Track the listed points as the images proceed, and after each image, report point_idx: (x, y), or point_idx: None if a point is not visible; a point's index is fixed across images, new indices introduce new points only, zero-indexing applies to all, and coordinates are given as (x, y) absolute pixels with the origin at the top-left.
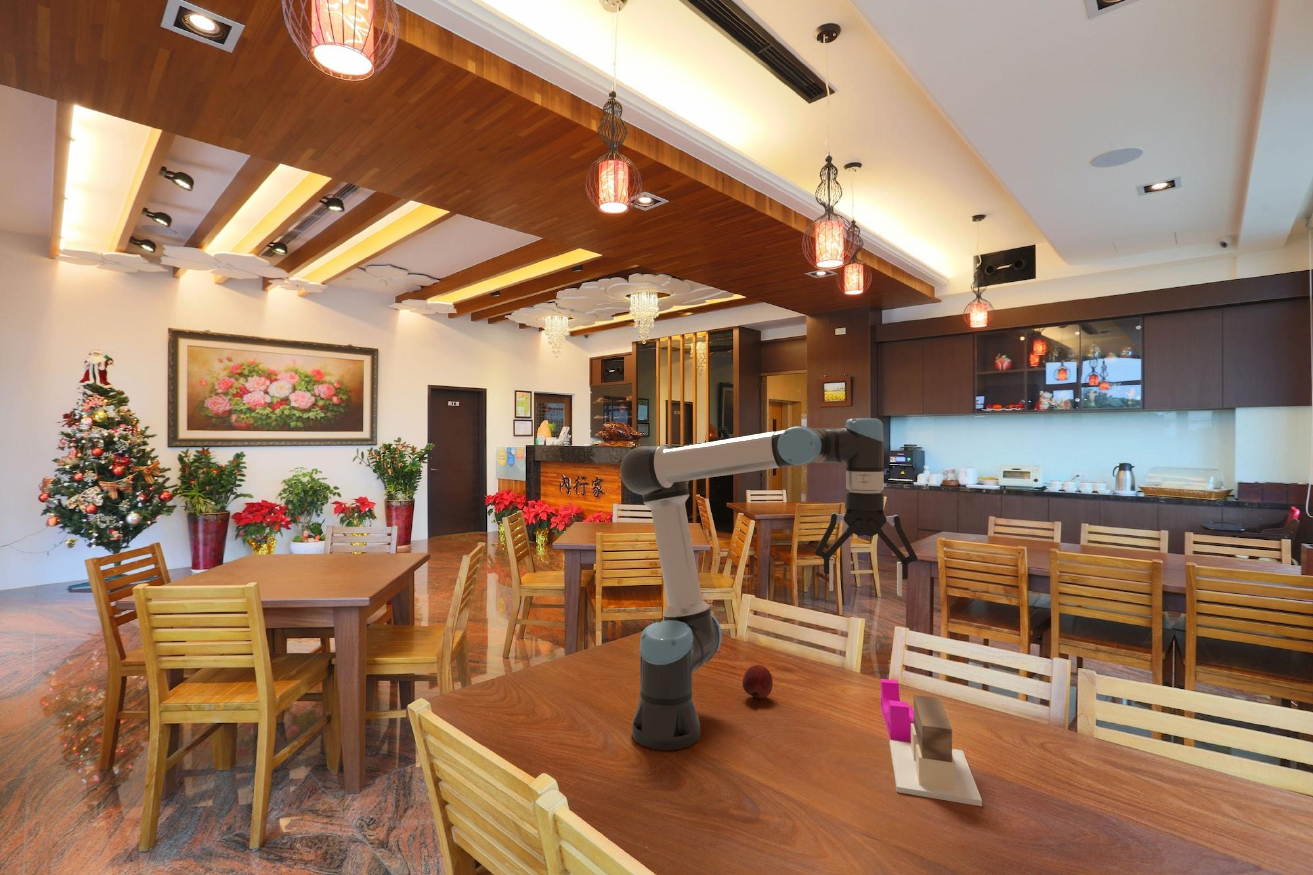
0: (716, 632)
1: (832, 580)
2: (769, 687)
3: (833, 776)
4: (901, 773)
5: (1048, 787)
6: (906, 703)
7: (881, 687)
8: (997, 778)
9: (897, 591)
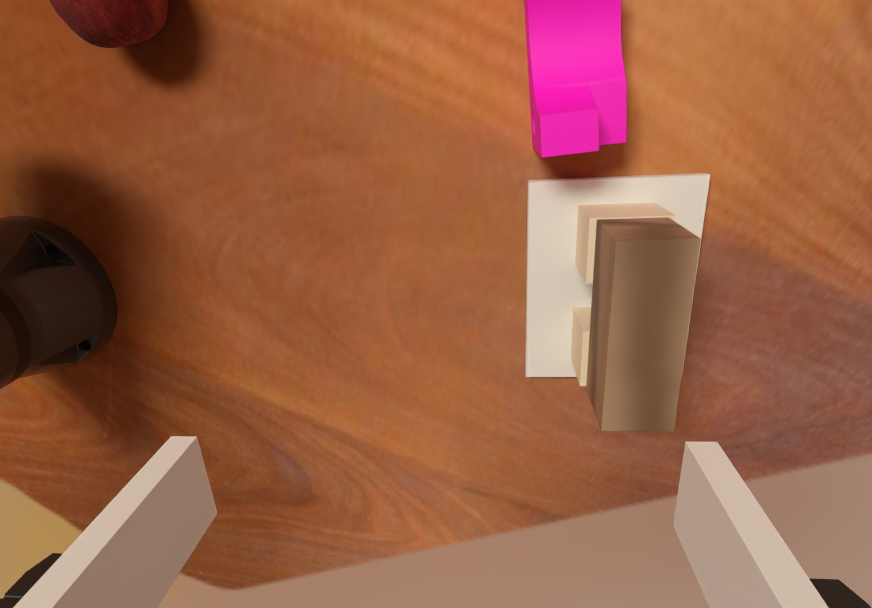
0: None
1: (171, 579)
2: (157, 18)
3: (407, 355)
4: (540, 328)
5: (857, 261)
6: (595, 120)
7: None
8: (752, 258)
9: (687, 484)
